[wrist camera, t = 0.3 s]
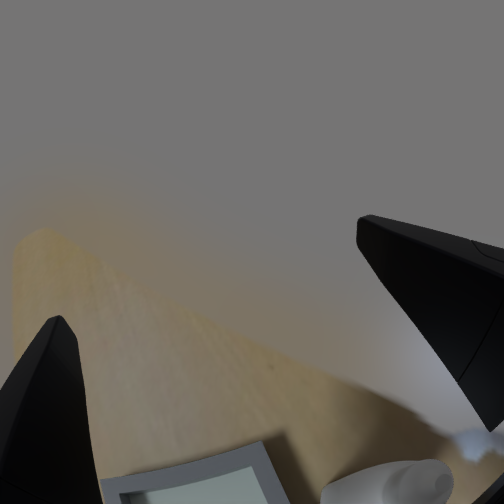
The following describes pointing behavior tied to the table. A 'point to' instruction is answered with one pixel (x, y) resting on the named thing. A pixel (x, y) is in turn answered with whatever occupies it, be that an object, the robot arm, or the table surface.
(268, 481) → the gray rectangular tray
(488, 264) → the robot arm
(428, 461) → the eye dropper bottle
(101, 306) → the table surface
